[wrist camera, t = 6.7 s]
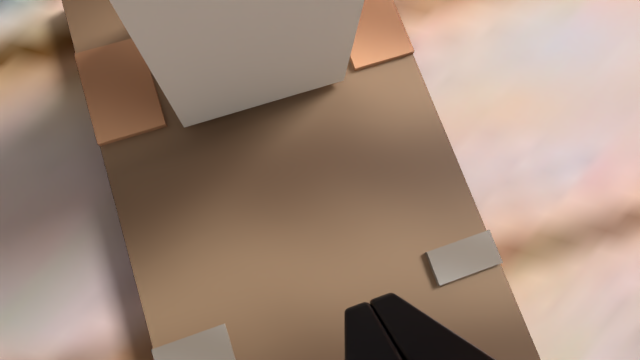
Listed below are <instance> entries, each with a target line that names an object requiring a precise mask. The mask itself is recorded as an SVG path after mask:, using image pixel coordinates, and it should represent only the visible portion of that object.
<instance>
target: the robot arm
mask: <svg viewBox="0 0 640 360" xmlns="http://www.w3.org/2000/svg"><path fill="white" fill-rule="evenodd" d="M344 350H345V360H496V359H494V358H493V357H491V356H490V355H488V354H487V353H485V352H483V351H482V350H480V349H479V348H477V347H476V346H474V345H473V344H471V343H470V342H468V341H467V340H465V339H464V338H462V337H461V336H459V335H457V334H456V333H454V332H453V331H451V330H450V329H448V328H447V327H445V326H444V325H442V324H441V323H439V322H438V321H436V320H434V319H433V318H431V317H430V316H428V315H427V314H425V313H424V312H422V311H421V310H419V309H418V308H416V307H415V306H413V305H411V304H410V303H408V302H407V301H405V300H404V299H402V298H401V297H399V296H398V295H396V294H394V293H387V294H385V295H382V296H379V297H376V298H374V299H372V300H371V301H370V303H368V302H363V303H360V304H357V305H354V306H352V307H349V308H347V309H346V310H345V312H344Z"/></svg>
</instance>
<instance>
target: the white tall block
mask: <svg viewBox="0 0 640 360" xmlns="http://www.w3.org/2000/svg"><path fill="white" fill-rule="evenodd" d="M109 1H110V3H111V4H112V6H113V8H114V9H115V11H116V13H117V14H118V16H119V18H120V20H121V21H122V23H123V25H124V26H125V28H126V30H127V31H128V33H129V35H130V37H131V38H132V40H133V42H134V43H135V45H136V47H137V48H138V50H139V52H140V54H141V55H142V57H143V59H144V60H145V62H146V64H147V65H148V67H149V69H150V71H151V72H152V74H153V76H154V77H155V79H156V81H157V82H158V84H159V86H160V88H161V89H162V91H163V93H164V94H165V96H166V98H167V99H168V101H169V103H170V105H171V106H172V108H173V110H174V111H175V113H176V115H177V117H178V118H179V120H180V122H181V123H182V125H183V127H184V128H185V127H188V126H192V125H195V124H198V123H202V122H205V121H208V120H212V119H215V118H219V117H222V116H225V115H229V114H232V113H235V112H239V111H242V110H246V109H249V108H252V107H256V106H259V105H262V104H266V103H269V102H273V101H276V100H279V99H283V98H286V97H289V96H293V95H296V94H300V93H303V92H306V91H310V90H313V89H317V88H320V87H323V86H327V85H330V84H333V83H337V82H340V81H344V78H345V74H346V70H347V66H348V62H349V58H350V54H351V51H352V47H353V43H354V39H355V35H356V31H357V27H358V23H359V19H360V16H361V12H362V8H363V4H364V0H109Z"/></svg>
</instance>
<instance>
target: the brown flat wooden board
mask: <svg viewBox="0 0 640 360" xmlns="http://www.w3.org/2000/svg"><path fill="white" fill-rule="evenodd" d="M62 3H63V7H64V11H65V15H66V18H67V22H68V26H69V30H70V34H71V37H72V41H73V45H74V49H75V54H74V56H75V60H76V64H77V68H78V71H79V75H80V79H81V83H82V87H83V90H84V94H85V98H86V102H87V106H88V110H89V113H90V117H91V121H92V125H93V129H94V133H95V136H96V140H97V144H98V145H99V146H100V148H101V152H102V156H103V160H104V163H105V167H106V171H107V175H108V179H109V182H110V186H111V190H112V194H113V198H114V201H115V205H116V209H117V213H118V217H119V221H120V224H121V228H122V232H123V236H124V240H125V243H126V247H127V251H128V255H129V259H130V263H131V266H132V270H133V274H134V278H135V282H136V285H137V289H138V293H139V297H140V301H141V305H142V308H143V312H144V316H145V320H146V324H147V327H148V331H149V335H150V339H151V343H152V346H153V349H151V351H152V355H153V358H154V360H345V350H344V312H345V310H346V309H347V308H349V307H352V306H354V305H357V304H360V303H363V302H368V303H370V301H371V300H372V299H374V298H376V297H379V296H382V295H385V294H387V293H394V294H396V295H398V296H399V297H401V298H402V299H404V300H405V301H407V302H408V303H410V304H411V305H413V306H415V307H416V308H418V309H419V310H421V311H422V312H424V313H425V314H427V315H428V316H430V317H431V318H433V319H434V320H436V321H438V322H439V323H441V324H442V325H444V326H445V327H447V328H448V329H450V330H451V331H453V332H454V333H456V334H457V335H459V336H461V337H462V338H464V339H465V340H467V341H468V342H470V343H471V344H473V345H474V346H476V347H477V348H479V349H480V350H482V351H483V352H485V353H487V354H488V355H490V356H491V357H493V358H494V359H496V360H540V357H539V355H538V353H537V350H536V348H535V345H534V343H533V341H532V338H531V336H530V333H529V331H528V329H527V326H526V324H525V321H524V319H523V317H522V314H521V312H520V310H519V307H518V305H517V302H516V300H515V298H514V295H513V293H512V290H511V288H510V286H509V283H508V281H507V278H506V276H505V274H504V271H503V269H502V266H501V264H500V263H503V261H502V259H501V257H500V254H499V252H498V250H497V247H496V245H495V242H494V240H493V238H492V235H491V233H490V230H487V231H486V228H485V226H484V223H483V221H482V219H481V216H480V214H479V211H478V209H477V207H476V204H475V202H474V199H473V197H472V195H471V192H470V190H469V187H468V185H467V183H466V180H465V178H464V175H463V173H462V171H461V168H460V166H459V164H458V161H457V159H456V156H455V154H454V152H453V149H452V147H451V144H450V142H449V140H448V137H447V135H446V132H445V130H444V128H443V125H442V123H441V120H440V118H439V116H438V113H437V111H436V108H435V106H434V104H433V101H432V99H431V96H430V94H429V92H428V89H427V87H426V85H425V82H424V80H423V77H422V75H421V73H420V70H419V68H418V65H417V63H416V61H415V58H414V56H413V53H414V49H413V47H412V44H411V42H410V40H409V37H408V35H407V32H406V30H405V28H404V25H403V23H402V20H401V18H400V16H399V13H398V11H397V9H396V6H395V4H394V1H393V0H364V4H363V8H362V12H361V16H360V19H359V23H358V27H357V31H356V35H355V39H354V43H353V47H352V51H351V54H350V58H349V62H348V66H347V70H346V74H345V78H344V81H340V82H337V83H333V84H330V85H327V86H323V87H320V88H317V89H313V90H310V91H306V92H303V93H300V94H296V95H293V96H289V97H286V98H283V99H279V100H276V101H273V102H269V103H266V104H262V105H259V106H256V107H252V108H249V109H246V110H242V111H239V112H235V113H232V114H229V115H225V116H222V117H219V118H215V119H212V120H208V121H205V122H202V123H198V124H195V125H192V126H188V127H185V128H184V127H183V125H182V123H181V122H180V120H179V118H178V117H177V115H176V113H175V111H174V110H173V108H172V106H171V105H170V103H169V101H168V99H167V98H166V96H165V94H164V93H163V91H162V89H161V88H160V86H159V84H158V82H157V81H156V79H155V77H154V76H153V74H152V72H151V71H150V69H149V67H148V65H147V64H146V62H145V60H144V59H143V57H142V55H141V54H140V52H139V50H138V48H137V47H136V45H135V43H134V42H133V40H132V38H131V37H130V35H129V33H128V31H127V30H126V28H125V26H124V25H123V23H122V21H121V20H120V18H119V16H118V14H117V13H116V11H115V9H114V8H113V6H112V4H111V3H110V1H109V0H62Z"/></svg>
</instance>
